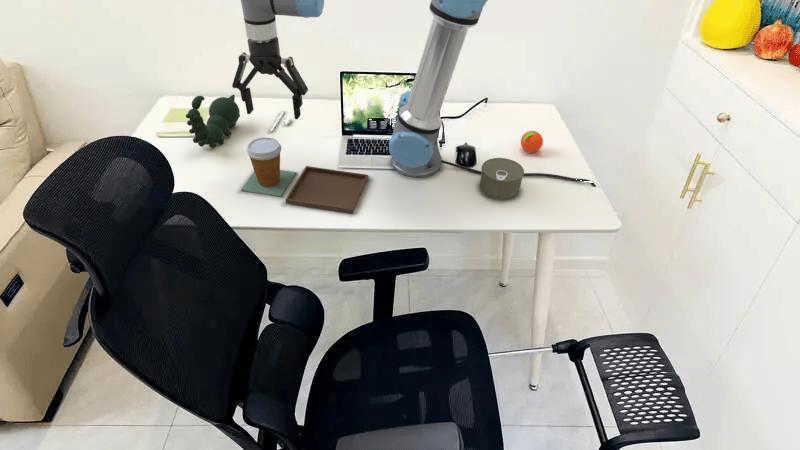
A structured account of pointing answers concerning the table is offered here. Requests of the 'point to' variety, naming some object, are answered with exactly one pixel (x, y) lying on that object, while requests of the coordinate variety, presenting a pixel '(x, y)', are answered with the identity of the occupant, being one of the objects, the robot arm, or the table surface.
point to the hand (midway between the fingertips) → (274, 114)
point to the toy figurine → (213, 120)
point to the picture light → (279, 119)
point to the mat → (274, 190)
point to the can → (501, 178)
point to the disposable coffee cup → (265, 160)
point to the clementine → (531, 141)
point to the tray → (328, 189)
